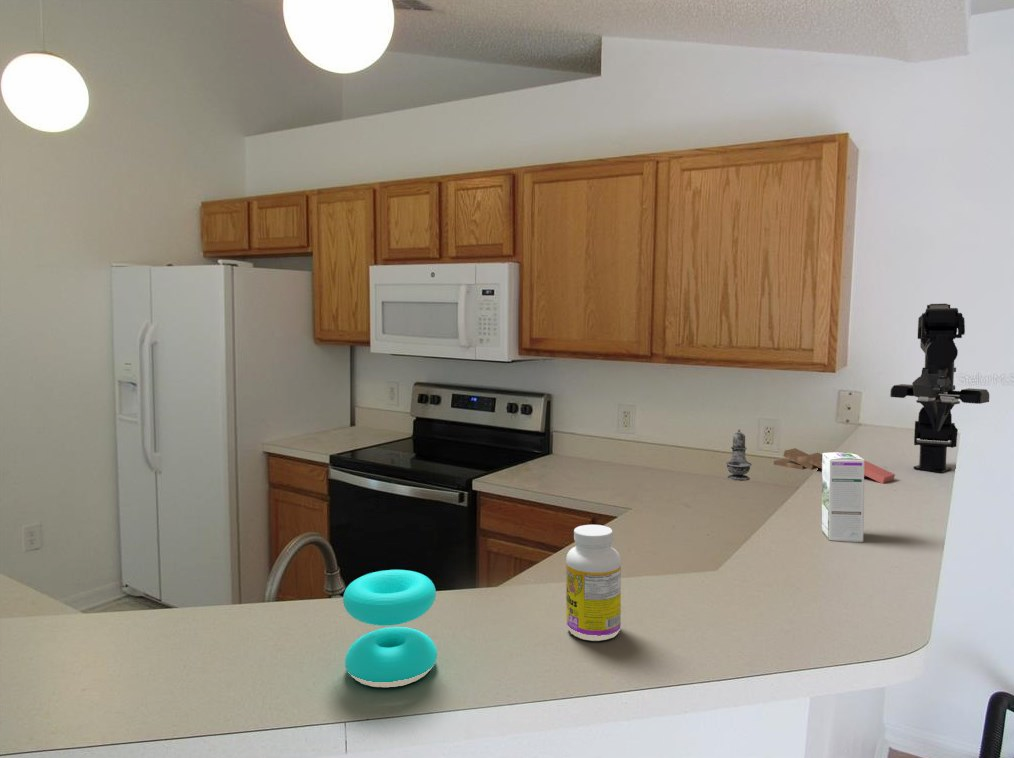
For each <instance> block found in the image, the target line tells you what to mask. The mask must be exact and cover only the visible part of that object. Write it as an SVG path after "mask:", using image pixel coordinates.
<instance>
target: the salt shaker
mask: <svg viewBox="0 0 1014 758" xmlns="http://www.w3.org/2000/svg"><path fill="white" fill-rule="evenodd" d="M730 449H731V450H732V455H731V459H730V461H726V462H725V464H726V467H727V470H728V472H729V473H730V474H728V475H727V477H726V479H728V480H730V481H736V482H737V481H738V482H745V481H750V480H751V477H749V476H748V475H746V474H748V473H749V472H750V469H751V466H752V463H750V462H748V461H747V458H746V450H747V447H746V435H745V433H742V432H741V429H740V428H738V430H737V432H735V433H733V435H732V446H731V448H730Z"/></svg>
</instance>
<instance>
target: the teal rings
mask: <svg viewBox="0 0 1014 758" xmlns="http://www.w3.org/2000/svg"><path fill="white" fill-rule="evenodd" d="M436 595H437V591H436V587H435V584H434V583H433V581H432V579H430V578H429V577H428V576H426V575H424V574H423V573H420V572H417V571H413V570H406V569H389V570H388V569H387V570H378V571H375V572H373V571H372V572H369V573H366V574H364V575H362V576H360V577H358V578H356V579H354V580H353V581H351V582H350V583H349V584H348V585H347V587H346V589H345V591H344V593H343V597H342V600H343V601H342V603H343V607H344V609H345V610H346V612H347V613H348V614H349V615H350V617H352V618H353V619H355V620H357V622H358V621H359V622H361V623H364V624H369V625H373V626H382V627H383V628H378V629H375V630H372V631H370V632H368V633H365V634H363V635H361V636H360V637H358V639H356V640H355V641H354V642H352V644H351V645H350V647H349V648H348V650H347V653H346V655H345V659H344V665H345V669H346V668H347V670H346V672H347V671H348V672H349V673H350V674H351V675H353V676H355V677H357V678H360V679H363V680H366V681H372V682H393V681H398V680H404V679H409V678H412V677H415V676H417V675H420V674H422V673H424V672H426V671H427V670H428V669H430V668H431V667H432V666H433V665H434V663H435V662H436V663H437V660H436V659H438V658H437V657H438V649H437V646H436V644H435V643H434V641H433V640H432V638H430V636H428V635H427V634H426V633H424V632H422V631H420V630H418V629H414V628H411V627H405V626H396V625H401V624H404V623H405V624H406V623H408V622H411V621H415V620H416V619H418V618H420V617H421V616H423V615H425V613H427V612H428V611H429V610H430V609H431V608H432V606H433V605H434V602H435V600H436V597H437V596H436ZM384 626H387V627H384ZM388 626H389V627H388ZM436 663H435V664H436ZM434 666H435V665H434ZM348 672H347V673H348Z"/></svg>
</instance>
